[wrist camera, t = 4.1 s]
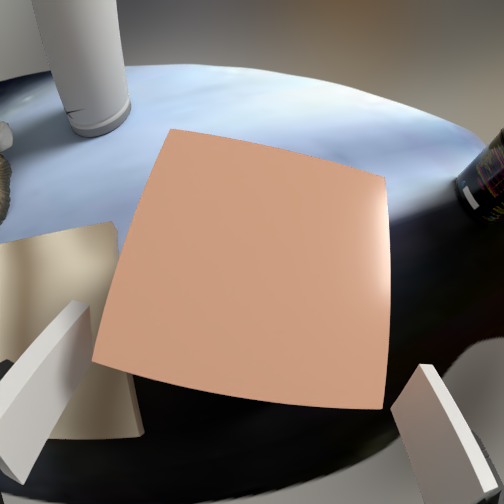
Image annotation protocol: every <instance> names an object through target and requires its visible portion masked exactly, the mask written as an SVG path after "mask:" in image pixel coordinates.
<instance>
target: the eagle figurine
mask: <svg viewBox="0 0 504 504" xmlns="http://www.w3.org/2000/svg"><path fill="white" fill-rule="evenodd" d="M12 144H13V135H12V129H11V128H10V126H9V124H8V123H5V122H0V153H1V152H3V151H5V150H6V149H8V148H10V147H11V146H12ZM11 174H12V171H11V167H10V163H9V162H8V161H6V160H5V159H4V157H3V156H2V155H1V154H0V224H2V221H3V219H5V218H6V215H7V213H8V209H9V206H10V205H9V202H10V197H9V195H10V188H9V186H10V177H11Z"/></svg>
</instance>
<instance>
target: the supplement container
mask: <svg viewBox="0 0 504 504" xmlns="http://www.w3.org/2000/svg"><path fill="white" fill-rule="evenodd" d="M456 193H457V196H458V199H459V201H460V203H461V205H462V207H463V208H464V210H465V211H466V212H467V214H468V215H469V216H470V217H471V218H472V219H473V220H475V221H476V222H478V223H481V224H485V225H488V224H492V223H493V222H494V221H496V220H497V219H498V218H500V217H501V216H502V215H504V128H502V129H501V131H500V132H499V134H498V135H497V136H496V137H495V138H494V139H493V140H492V141H491V142H490V143H489V144H488V145H487V147H486V148H485V149H484V150H483V151H482V152H481V153H480V154H479V155H478V156H477V157H476V158H475V159H474V160H473V161H472V162H471V163H470V164H469V165H468V166H467V167H466V168H465V169H464V170H463V171H462V172H461V173H460V174H459V176H458V177H457V180H456Z"/></svg>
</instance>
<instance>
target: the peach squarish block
mask: <svg viewBox="0 0 504 504" xmlns="http://www.w3.org/2000/svg"><path fill="white" fill-rule="evenodd" d="M389 326H390V240H389V221H388V207H387V195H386V184H385V177H382V176H379V175H375V174H372V173H369V172H366V171H362V170H359V169H356V168H352V167H349V166H345V165H342V164H338V163H335V162H331V161H327V160H324V159H320V158H316V157H312V156H308V155H304V154H300V153H296V152H292V151H288V150H284V149H279V148H275V147H270V146H266V145H261V144H256V143H252V142H247V141H242V140H236V139H231V138H226V137H220V136H215V135H209V134H203V133H197V132H190V131H184V130H177V129H170V131H169V133H168V135H167V137H166V139H165V142H164V144H163V146H162V148H161V150H160V153H159V155H158V157H157V160H156V162H155V164H154V167H153V169H152V171H151V174H150V176H149V178H148V181H147V183H146V186H145V188H144V191H143V193H142V196H141V198H140V201H139V204H138V206H137V209H136V212H135V214H134V217H133V220H132V222H131V225H130V228H129V231H128V234H127V236H126V239H125V242H124V245H123V248H122V251H121V254H120V257H119V260H118V263H117V267H116V270H115V273H114V276H113V280H112V283H111V286H110V290H109V293H108V297H107V300H106V304H105V308H104V311H103V315H102V319H101V323H100V327H99V331H98V335H97V339H96V343H95V347H94V352H93V356H92V361H93V362H96V363H99V364H102V365H105V366H108V367H111V368H115V369H118V370H121V371H125V372H128V373H132V374H135V375H139V376H142V377H146V378H150V379H154V380H158V381H162V382H166V383H170V384H174V385H178V386H183V387H187V388H192V389H197V390H202V391H207V392H212V393H217V394H223V395H228V396H234V397H240V398H247V399H254V400H261V401H268V402H276V403H285V404H294V405H305V406H317V407H332V408H352V409H382V406H383V398H384V390H385V381H386V370H387V359H388V344H389Z"/></svg>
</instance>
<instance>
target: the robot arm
mask: <svg viewBox="0 0 504 504" xmlns="http://www.w3.org/2000/svg"><path fill="white" fill-rule="evenodd" d="M93 352H94V351H93V342H92V331H91V319H90V305H88V304H85V303H82V302H78V301H75V300H72V301H71V302H70V303H69V304H68V305H67V306H66V307H65V308H64V309H63V310H62V311H61V312H60V314H59V315H58V316H57V317H56V318H55V319H54V320H53V321H52V322H51V323H50V324H49V325H48V326H47V327H46V329H45V330H44V331H43V332H42V333H41V334H40V335H39V336H38V337H37V338H36V340H35V341H34V342H33V343H32V344H31V345H30V346H29V347H28V349H27V350H26V351H25V352H24V353H23V354H22V355H21V357H20V358H19V359H18V360H17V361H16V363H14V362H12V361H10V360H8V359H6V360H4V361H2V362H0V469H1V470H2V471H3V473H4V474H6V475H7V476H9V477H10V478H12V479H14V480H15V481H17V482H19V483H20V484H22V485H24V483H25V481H26V479H27V477H28V475H29V473H30V471H31V469H32V467H33V465H34V463H35V461H36V459H37V457H38V455H39V454H40V452H41V450H42V448H43V446H44V444H45V442H46V441H47V439H48V437H49V435H50V433H51V432H52V430H53V428H54V426H55V424H56V423H57V421H58V419H59V417H60V416H61V414H62V412H63V410H64V409H65V407H66V405H67V404H68V402H69V400H70V399H71V397H72V395H73V394H74V392H75V390H76V389H77V387H78V385H79V384H80V382H81V380H82V379H83V377H84V376H85V374H86V372H87V371H88V369H89V368H90V366H91V364H92V363H93V361H92V356H93ZM391 411H392V414H393V416H394V419H395V421H396V424H397V427H398V429H399V432H400V435H401V437H402V440H403V443H404V445H405V448H406V451H407V454H408V457H409V459H410V462H411V465H412V468H413V471H414V474H415V477H416V479H417V482H418V486H419V489H420V492H421V495H422V498H423V501H424V504H504V485H503V483H502V481H501V479H500V477H499V475H498V474H497V471H496V469H495V467H494V465H493V463H492V461H491V459H490V458H489V455H488V453H487V451H486V450H485V447H484V445H483V444H482V442H481V439H480V438H479V437H478V436H477V435H476V434H475V433H474V432H473V431H472V430H470V429H469V427H468V425H467V423H466V421H465V419H464V418H463V416H462V414H461V412H460V410H459V409H458V407H457V405H456V403H455V402H454V400H453V398H452V396H451V395H450V393H449V391H448V390H447V388H446V386H445V385H444V383H443V381H442V380H441V378H440V376H439V375H438V373H437V371H436V370H435V368H434V367H433V365H426V364H419V365H418V367H417V369H416V370H415V372H414V374H413V375H412V377H411V378H410V380H409V382H408V383H407V385H406V386H405V388H404V389H403V391H402V392H401V394H400V395H399V397H398V398H397V400H396V401H395V403H394V404H393V406H392V407H391ZM0 504H4V502H3V498H2V495H1V491H0Z"/></svg>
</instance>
